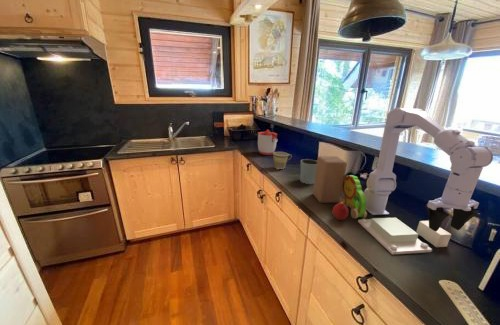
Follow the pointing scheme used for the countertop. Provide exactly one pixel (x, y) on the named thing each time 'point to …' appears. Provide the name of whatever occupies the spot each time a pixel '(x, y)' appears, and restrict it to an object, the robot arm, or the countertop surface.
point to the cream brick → (433, 234)
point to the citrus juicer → (267, 142)
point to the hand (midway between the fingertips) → (443, 228)
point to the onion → (340, 211)
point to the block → (329, 179)
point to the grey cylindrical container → (308, 171)
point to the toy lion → (354, 196)
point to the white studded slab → (395, 235)
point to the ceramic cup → (280, 159)
